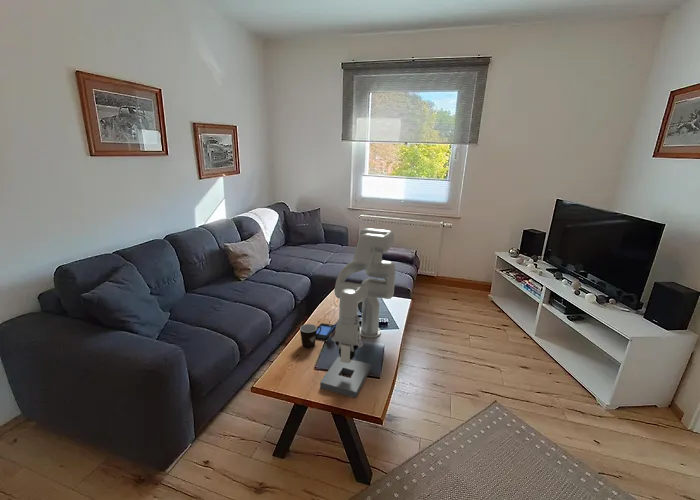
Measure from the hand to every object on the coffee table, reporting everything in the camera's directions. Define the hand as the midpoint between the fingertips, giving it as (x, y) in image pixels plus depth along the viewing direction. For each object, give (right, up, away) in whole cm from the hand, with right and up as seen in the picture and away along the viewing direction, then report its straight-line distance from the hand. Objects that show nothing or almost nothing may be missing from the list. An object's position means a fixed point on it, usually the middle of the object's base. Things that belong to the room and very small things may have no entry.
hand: (346, 356), depth 143 cm
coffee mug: (-18, -3, +28) cm, 34 cm away
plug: (0, -2, 0) cm, 2 cm away
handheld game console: (-11, 0, +40) cm, 42 cm away
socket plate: (0, -11, +4) cm, 12 cm away
